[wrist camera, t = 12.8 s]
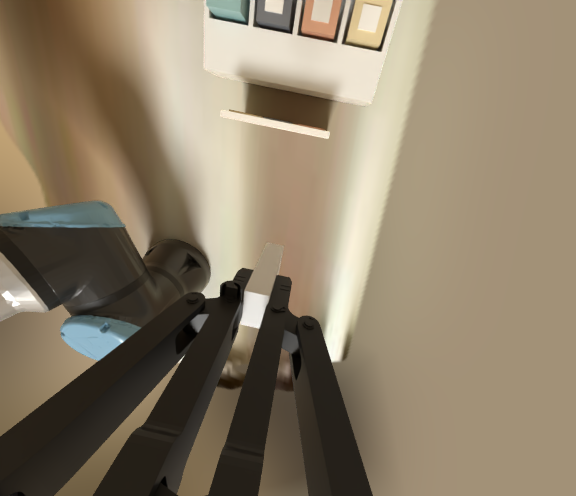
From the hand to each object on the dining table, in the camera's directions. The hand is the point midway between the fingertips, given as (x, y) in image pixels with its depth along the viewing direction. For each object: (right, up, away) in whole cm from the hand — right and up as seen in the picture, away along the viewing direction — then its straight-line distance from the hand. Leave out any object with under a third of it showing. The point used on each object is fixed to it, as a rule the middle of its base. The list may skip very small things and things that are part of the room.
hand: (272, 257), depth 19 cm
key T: (+12, +30, +11) cm, 34 cm away
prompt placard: (+1, +21, +19) cm, 29 cm away
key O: (0, +33, +11) cm, 35 cm away
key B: (+6, +31, +11) cm, 34 cm away
